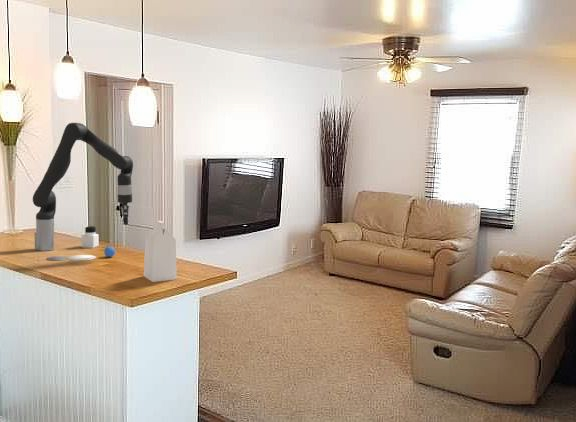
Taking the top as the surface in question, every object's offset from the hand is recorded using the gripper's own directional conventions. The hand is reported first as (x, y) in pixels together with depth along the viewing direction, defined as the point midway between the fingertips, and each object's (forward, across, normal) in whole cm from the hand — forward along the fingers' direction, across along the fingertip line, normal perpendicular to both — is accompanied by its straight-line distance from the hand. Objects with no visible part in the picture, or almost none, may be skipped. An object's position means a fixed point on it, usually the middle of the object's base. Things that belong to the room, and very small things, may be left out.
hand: (125, 223), depth 298 cm
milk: (+19, +53, +13) cm, 58 cm away
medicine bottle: (+17, -29, -20) cm, 39 cm away
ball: (+15, +2, -9) cm, 17 cm away
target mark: (+17, +3, -23) cm, 28 cm away
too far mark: (+17, +3, -35) cm, 39 cm away
